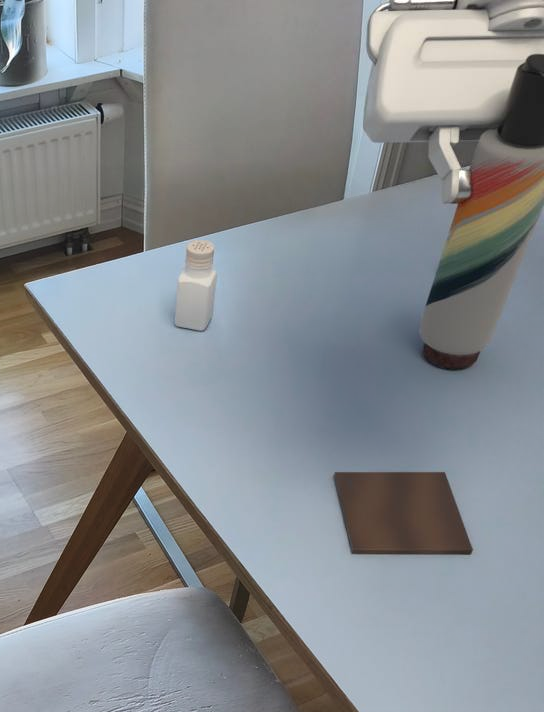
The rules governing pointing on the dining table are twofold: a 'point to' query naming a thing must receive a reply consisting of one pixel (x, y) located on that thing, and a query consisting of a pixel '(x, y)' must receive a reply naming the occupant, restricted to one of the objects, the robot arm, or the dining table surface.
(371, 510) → the walnut board
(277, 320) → the dining table surface
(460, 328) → the lotion bottle
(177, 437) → the dining table surface
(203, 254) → the salt shaker
